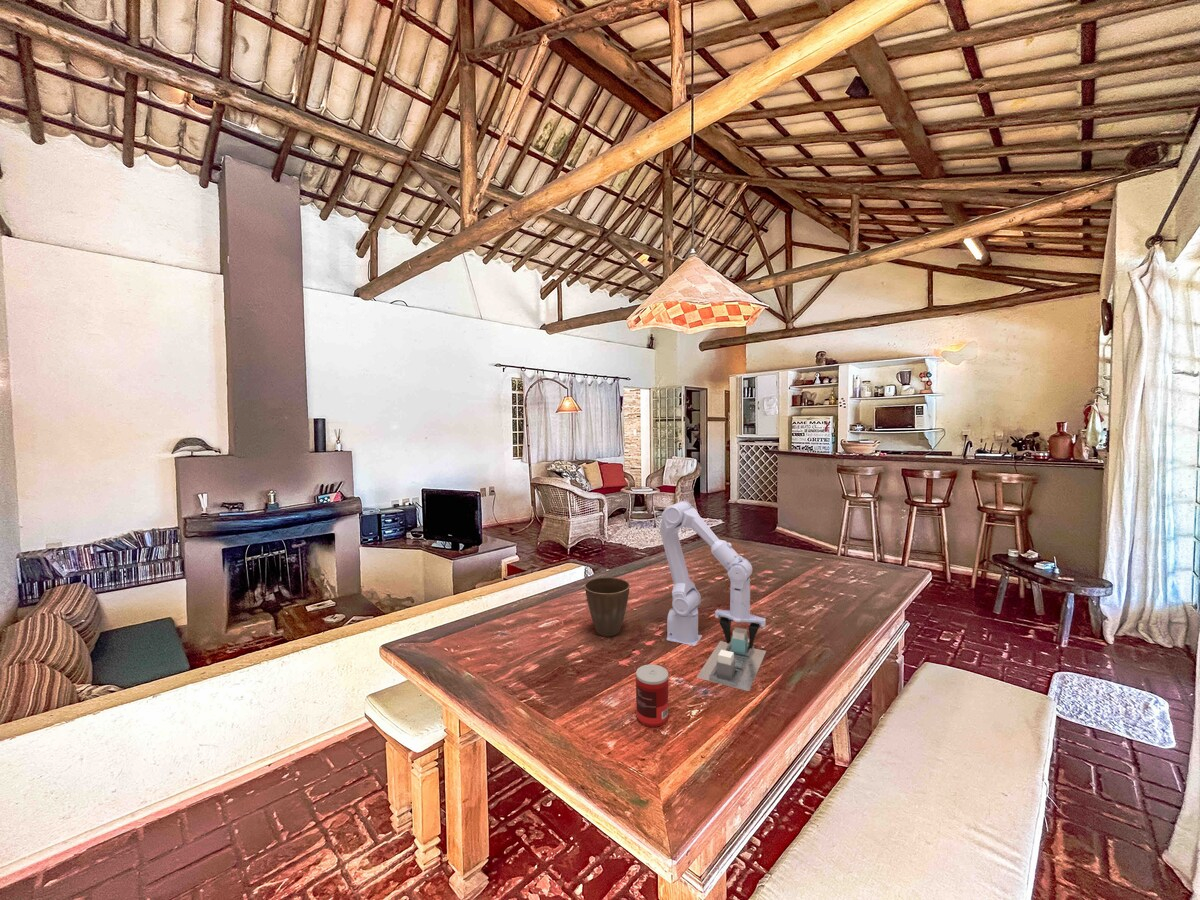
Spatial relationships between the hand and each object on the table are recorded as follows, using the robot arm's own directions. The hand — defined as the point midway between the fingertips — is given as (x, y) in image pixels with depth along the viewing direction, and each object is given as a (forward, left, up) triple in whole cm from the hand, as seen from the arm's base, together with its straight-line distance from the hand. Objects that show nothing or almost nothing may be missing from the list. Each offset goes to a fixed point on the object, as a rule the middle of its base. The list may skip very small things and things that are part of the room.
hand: (739, 644), depth 144 cm
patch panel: (0, -8, -3) cm, 8 cm away
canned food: (-11, -41, -3) cm, 43 cm away
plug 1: (0, -16, -2) cm, 16 cm away
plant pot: (-42, -6, -3) cm, 43 cm away
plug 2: (0, 0, -2) cm, 2 cm away
